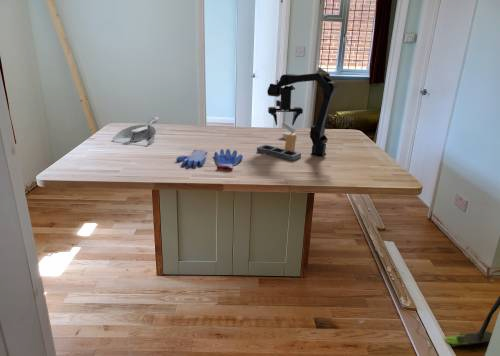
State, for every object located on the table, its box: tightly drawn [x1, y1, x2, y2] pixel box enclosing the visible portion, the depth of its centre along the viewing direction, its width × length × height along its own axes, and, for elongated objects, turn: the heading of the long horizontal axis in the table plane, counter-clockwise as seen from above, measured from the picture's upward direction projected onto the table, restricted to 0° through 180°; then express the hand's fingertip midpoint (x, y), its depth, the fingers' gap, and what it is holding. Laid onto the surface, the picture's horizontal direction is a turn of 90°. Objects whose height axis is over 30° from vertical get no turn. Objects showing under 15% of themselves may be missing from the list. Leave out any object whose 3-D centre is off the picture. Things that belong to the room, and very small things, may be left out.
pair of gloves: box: [176, 148, 244, 172], centre depth 196 cm, size 32×26×4 cm
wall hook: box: [281, 121, 298, 140], centre depth 242 cm, size 9×10×10 cm
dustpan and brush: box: [112, 116, 160, 147], centre depth 230 cm, size 23×33×10 cm
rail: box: [256, 144, 302, 162], centre depth 210 cm, size 23×8×2 cm, turn 54°
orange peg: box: [284, 133, 297, 151], centre depth 218 cm, size 4×4×9 cm
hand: (284, 125), depth 220 cm, fingers open, 9 cm apart
